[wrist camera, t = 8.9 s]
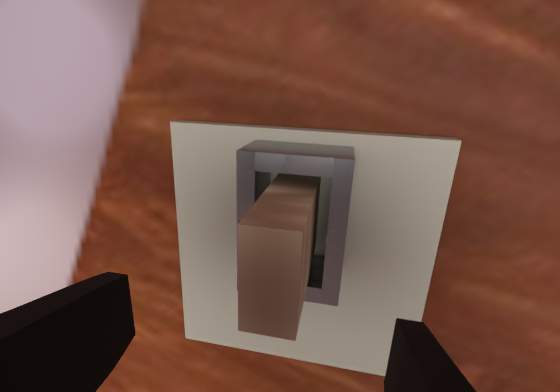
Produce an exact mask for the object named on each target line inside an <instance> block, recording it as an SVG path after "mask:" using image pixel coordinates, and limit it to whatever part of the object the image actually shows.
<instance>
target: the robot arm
mask: <svg viewBox="0 0 560 392" xmlns="http://www.w3.org/2000/svg"><path fill="white" fill-rule="evenodd" d="M134 336H135V327H134V319H133V312H132V304H131V297H130V289H129V282H128V275H126V274H120V273H113V272H106V273H103V274H100V275H97V276H94V277H91V278H88V279H86V280H83V281H81V282H78V283H75V284H73V285H70V286H68V287H66V288H63V289H61V290H58V291H56V292H53V293H51V294H48V295H46V296H43V297H41V298H39V299H36V300H34V301H32V302H29V303H26V304H24V305H21V306H19V307H16V308H14V309H12V310H9V311H6V312H4V313H1V314H0V392H96V390H97V389H98V388H99V387H100V385H101V384H102V383H103V382H104V380H105V379H106V378H107V377H108V375H109V374H110V373H111V371H112V370H113V369H114V367H115V366H116V364H117V363H118V361H119V360H120V358H121V357H122V355H123V354H124V352H125V350H126V349H127V347H128V346H129V344H130V342H131V341H132V339H133V337H134ZM384 392H476V391H475V389H474V388H473V387H472V386H471V384H470V383H469V382H468V380H467V379H466V378H465V377H464V375H463V374H462V373H461V371H460V370H459V369H458V368H457V366H456V365H455V364H454V362H453V361H452V360H451V358H450V357H449V356H448V354H447V353H446V352H445V350H444V349H443V348H442V346H441V345H440V344H439V342H438V341H437V340H436V338H435V337H434V336H433V334H432V333H431V332H430V330H429V329H428V328H427V326H426V325H425V324H424V323H423V322H419V321H413V320H406V319H400V318H396V322H395V327H394V333H393V338H392V343H391V348H390V354H389V359H388V364H387V369H386V374H385V380H384Z"/></svg>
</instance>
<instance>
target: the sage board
mask: <svg viewBox="0 0 560 392" xmlns="http://www.w3.org/2000/svg"><path fill="white" fill-rule="evenodd" d="M170 126H171V140H172V154H173V168H174V183H175V197H176V211H177V225H178V239H179V253H180V267H181V281H182V295H183V309H184V323H185V337H186V338H188V339H193V340H198V341H203V342H209V343H214V344H219V345H224V346H229V347H235V348H240V349H245V350H250V351H256V352H261V353H266V354H271V355H276V356H282V357H287V358H292V359H297V360H303V361H308V362H313V363H318V364H323V365H329V366H334V367H339V368H344V369H349V370H355V371H360V372H365V373H370V374H376V375H381V376H385V374H386V369H387V364H388V359H389V354H390V348H391V343H392V338H393V333H394V327H395V322H396V318H400V319H406V320H413V321H419V322H421V320H422V316H423V311H424V307H425V302H426V298H427V293H428V289H429V285H430V280H431V276H432V271H433V267H434V262H435V258H436V253H437V249H438V244H439V240H440V235H441V231H442V226H443V222H444V217H445V213H446V208H447V204H448V199H449V195H450V190H451V186H452V181H453V177H454V173H455V168H456V164H457V159H458V155H459V150H460V146H461V140H459V139H456V138H452V137H437V136H421V135H405V134H390V133H374V132H359V131H343V130H327V129H312V128H296V127H281V126H265V125H249V124H234V123H218V122H203V121H187V120H177V121H172V122H170ZM254 140H268V141H282V142H296V143H309V144H323V145H337V146H351V147H354V153H355V165H354V174H353V182H352V191H351V199H350V208H349V216H348V225H347V233H346V242H345V251H344V259H343V268H342V276H341V285H340V293H339V302H338V306H332V305H325V304H319V303H313V302H307V301H304V303H303V307H302V312H301V317H300V322H299V327H298V331H297V336H296V341H292V340H286V339H281V338H275V337H270V336H264V335H259V334H253V333H248V332H242V331H238V291H237V181H236V150H238V149H240V148H242V147H243V146H245V145H247V144H249V143H251V142H252V141H254ZM278 174H279V173H272V172H270V184H271V182H272V181H273V180H274V179H275V177H276V176H277V175H278ZM331 187H332V178H327V177H321V184H320V196H319V209H318V221H317V233H316V245H315V250H314V255H319V256H325V250H326V239H327V229H328V218H329V208H330V197H331Z"/></svg>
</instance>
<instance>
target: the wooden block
mask: <svg viewBox="0 0 560 392" xmlns="http://www.w3.org/2000/svg"><path fill="white" fill-rule="evenodd" d="M320 184H321V177H316V176H305V175H294V174H283V173H279V174H278V175H277V176H276V177H275V179H274V180H273V181H272V182H271V184H270V185H269V186H268V187H267V189H266V190H265V191H264V192H263V193H262V195H261V196H260V197H259V198H258V200H257V201H256V202H255V203H254V204H253V206H252V207H251V208H250V209H249V211H248V212H247V213H246V214H245V216H244V217H243V218H242V219H241V220H240V222H239V223H238V224H237V233H238V331H242V332H248V333H253V334H259V335H264V336H270V337H275V338H281V339H286V340H292V341H296V336H297V331H298V327H299V322H300V317H301V312H302V307H303V303H304V298H305V293H306V288H307V283H308V279H309V274H310V269H311V264H312V259H313V255H314V250H315V245H316V233H317V221H318V209H319V196H320Z"/></svg>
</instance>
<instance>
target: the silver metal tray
mask: <svg viewBox="0 0 560 392" xmlns="http://www.w3.org/2000/svg"><path fill="white" fill-rule="evenodd" d="M354 165H355V153H354V147H351V146H337V145H323V144H309V143H296V142H282V141H268V140H254V141H252V142H251V143H249V144H247V145H245V146H243V147H242V148H240V149H238V150H236V181H237V224H238V223H239V222H240V220H241V219H242V218H243V217H244V216H245V214H246V213H247V212H248V211H249V209H250V208H251V207H252V206H253V204H254V203H255V202H256V201H257V200H258V198H259V197H260V196H261V195H262V193H263V192H264V191H265V190H266V189H267V187H268V186H269V185H270V172H272V173H283V174H294V175H305V176H316V177H327V178H332V187H331V197H330V208H329V218H328V229H327V239H326V250H325V256H319V255H313V259H312V264H311V269H310V274H309V279H308V283H307V288H306V293H305V298H304V301H307V302H313V303H319V304H325V305H332V306H338V302H339V293H340V285H341V276H342V268H343V259H344V251H345V242H346V233H347V225H348V216H349V208H350V199H351V191H352V182H353V174H354ZM237 291H238V233H237Z"/></svg>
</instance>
